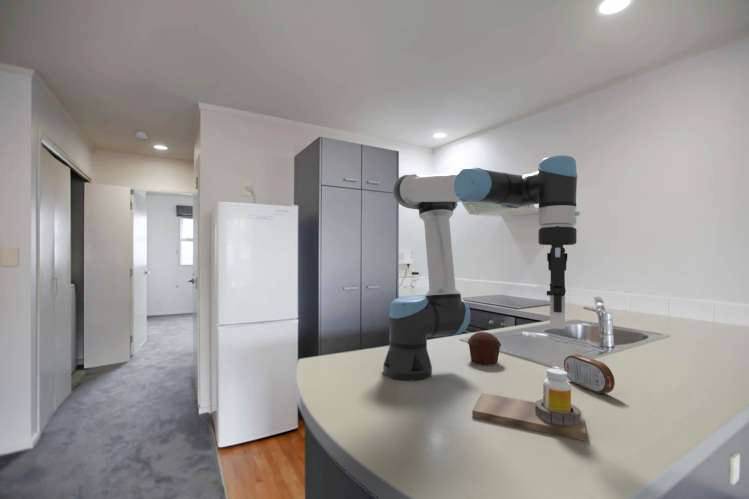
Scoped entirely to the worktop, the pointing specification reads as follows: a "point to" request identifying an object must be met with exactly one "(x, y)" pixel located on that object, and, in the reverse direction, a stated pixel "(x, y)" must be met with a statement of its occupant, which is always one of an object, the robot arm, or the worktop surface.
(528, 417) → the board
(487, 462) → the worktop surface
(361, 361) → the worktop surface
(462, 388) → the worktop surface
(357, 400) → the worktop surface
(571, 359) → the tin
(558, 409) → the supplement bottle
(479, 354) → the muffin
